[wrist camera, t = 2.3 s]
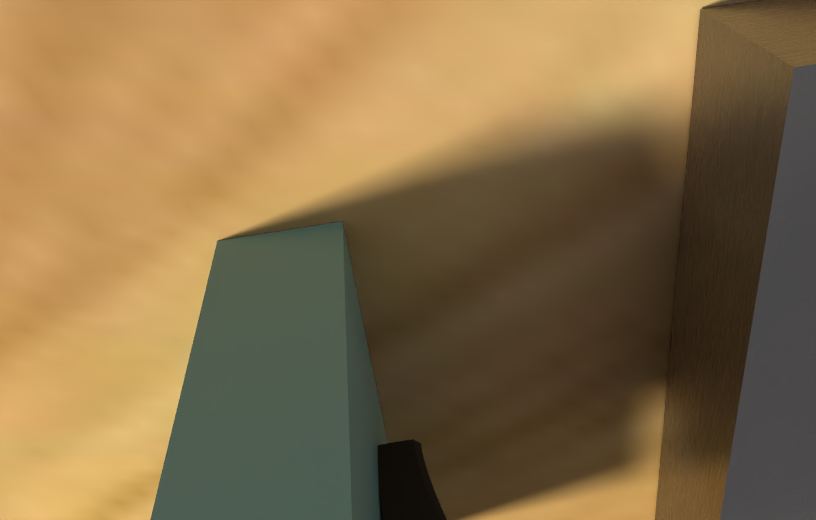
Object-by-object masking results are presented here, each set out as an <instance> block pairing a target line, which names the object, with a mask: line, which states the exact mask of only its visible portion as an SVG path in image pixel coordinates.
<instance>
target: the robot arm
mask: <svg viewBox="0 0 816 520" xmlns="http://www.w3.org/2000/svg"><path fill="white" fill-rule="evenodd" d="M378 483H379V498H380V504H381V510H382V515H383V520H447V519H446V517H445V515H444V513H443V510H442V508H441V506H440V503H439V501H438V498H437V496H436V494H435V491H434V489H433V486H432V483H431V481H430V478H429V475H428V472H427V469H426V465H425V462H424V458H423V454H422V448H421V443H419V442H417V441H415V440H406V441H400V442H394V443H387V444H381V445H378Z"/></svg>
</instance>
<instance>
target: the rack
mask: <svg viewBox="0 0 816 520" xmlns="http://www.w3.org/2000/svg"><path fill="white" fill-rule="evenodd" d="M655 520H816V0H758V1H752V2H745V3H739V4H732V5H726V6H719V7H713V8H706V9H700V20H699V31H698V42H697V53H696V65H695V76H694V87H693V99H692V110H691V121H690V132H689V144H688V155H687V166H686V177H685V189H684V200H683V211H682V223H681V234H680V245H679V256H678V268H677V279H676V290H675V302H674V313H673V324H672V335H671V347H670V358H669V369H668V380H667V392H666V403H665V414H664V426H663V437H662V448H661V459H660V471H659V482H658V493H657V504H656V516H655Z"/></svg>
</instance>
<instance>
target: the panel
mask: <svg viewBox="0 0 816 520" xmlns="http://www.w3.org/2000/svg"><path fill="white" fill-rule="evenodd" d="M387 443H388V442H387V437H386V432H385V427H384V422H383V417H382V412H381V407H380V403H379V398H378V393H377V388H376V383H375V378H374V373H373V368H372V363H371V358H370V354H369V349H368V344H367V339H366V334H365V329H364V324H363V319H362V314H361V309H360V305H359V300H358V295H357V290H356V285H355V280H354V275H353V270H352V265H351V260H350V256H349V251H348V246H347V241H346V236H345V231H344V226H343V221H341V222H334V223H328V224H322V225H315V226H309V227H302V228H296V229H290V230H283V231H277V232H270V233H264V234H258V235H251V236H245V237H238V238H232V239H226V240H219V241H217V245H216V249H215V254H214V258H213V262H212V266H211V270H210V274H209V279H208V283H207V287H206V291H205V295H204V299H203V304H202V308H201V312H200V316H199V320H198V324H197V328H196V333H195V337H194V341H193V345H192V349H191V353H190V358H189V362H188V366H187V370H186V374H185V378H184V383H183V387H182V391H181V395H180V399H179V403H178V408H177V412H176V416H175V420H174V424H173V428H172V433H171V437H170V441H169V445H168V449H167V453H166V457H165V462H164V466H163V470H162V474H161V478H160V482H159V487H158V491H157V495H156V499H155V503H154V507H153V512H152V516H151V520H383V515H382V510H381V504H380V498H379V483H378V445H381V444H387Z"/></svg>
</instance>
